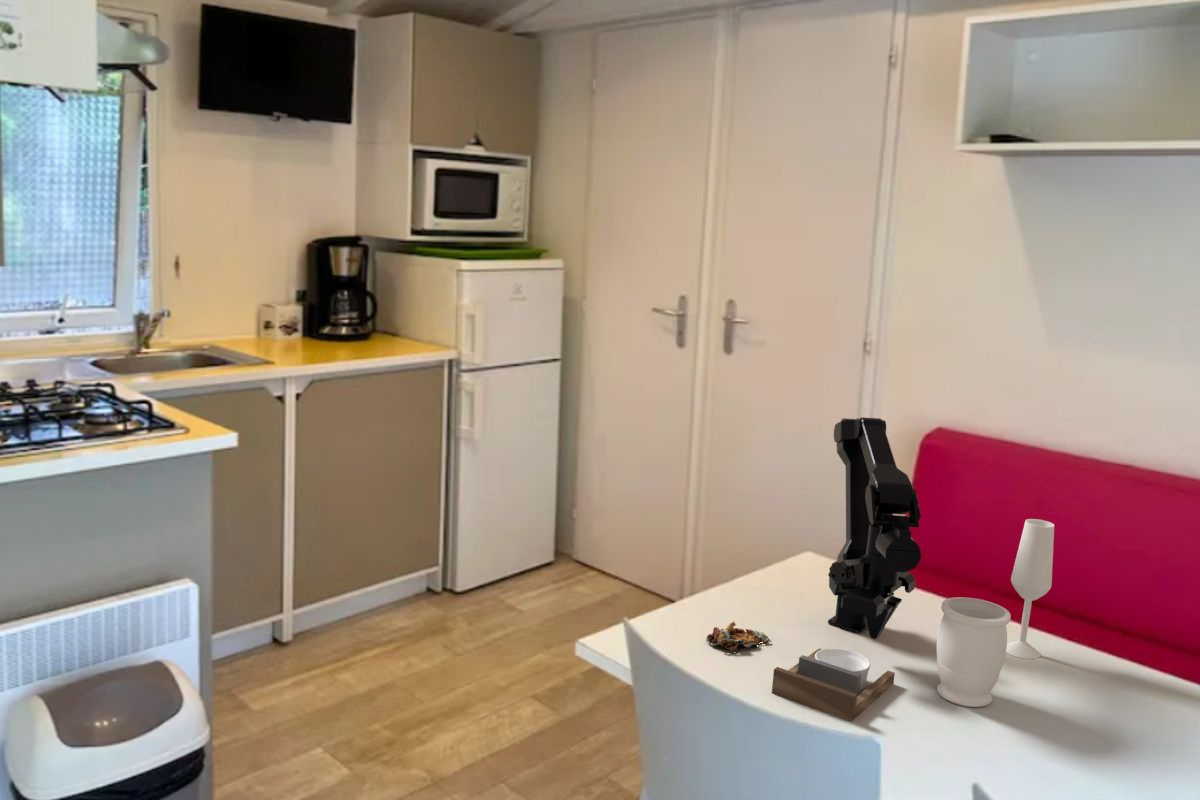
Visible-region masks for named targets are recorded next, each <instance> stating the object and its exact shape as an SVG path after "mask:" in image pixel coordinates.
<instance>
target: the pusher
mask: <svg viewBox="0 0 1200 800" xmlns="http://www.w3.org/2000/svg"><path fill="white" fill-rule="evenodd" d="M798 663H799V665H798V674H800V675H803V676H806V677H809V678H812V679H814V680H817V681H820V682H823V683H826V684H829V685H832V686H835V687H838V688H841V689H844V690H847V691H850V692H852V693H855V694H857V696H858V695H859V694H860V692H859V689H860V680H861V674H859V673H856V672H853V671H850V670H847V669H843V668H840V667H837V666H834V665H831V664H828V663H825V662H822V661H819V660H816V659H813V658H810V657H808V655H804V654H802V655H800V656H799V659H798Z"/></svg>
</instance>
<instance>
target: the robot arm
mask: <svg viewBox="0 0 1200 800" xmlns="http://www.w3.org/2000/svg"><path fill="white" fill-rule="evenodd" d="M833 440H834V441H833V442H834V443H836V453H837V455H838V457H839V458H840V460H841V461H842V463H843V464H844V466H845V544H844V545H843V546H842V548H841V549H840V551H839V553H838V554H837V558H836V559H837V560H836V561H834V562H832V563H831V565H830V567H829V572H828V577H829V578H828V587H829V589H830V591H831V593H832V594H833V596H837V597H836V598H837V599H836V607H835V615H833V616H832V617H831V618H829V619H828V620H827V624H829V625H833V626H836V627H839V628H842V629H845V630H848V631H851V632H855V633H862V632H864V631H865V630H866V629H868V635H869V638H870V639H873V640H877V639H878V638H879V636H880V635H881V633H882V631H883V630H884V628H885V627H886V625H887V624H888V622H889V621H890V619H891V618H892V615H894V613H895V611H896V609H897V608H898V606H899V605H900V604H901V603H902V600H903V599H902V598H900V597H897V596H895V592H896V591H897V590H898V589H900V588H901V587H904V590H905V593H907V594H910V593H912V592H913V591H914V590H915V586H916V578H915V577H914V575H913V574H912V573H911V572H910V571H912V570H914V569H915V568H916V567H917V566H918V565H919V563H920V561H921V558H922V552H921V548H920V545H919V544H918V543H917V542H916V541H915V540H914V538H913V537H912V530H910V528H919V526H920V522H919V521H920V519H921V518H922V516H921V510H920V504H919V498H918V495H917V492H916V488H915V487H913V484H912V482H911V481H910V478H909V475H908V474H906V473H905V472H904V471H902V470H901V469H900V468H898V466H897V464H896V461H895V458H894V453H893V451H892V449H891V445H890V442H889V439H888V435H887V422H886V420H884V419H882V418H879V417H877V418H876V417H866V416H865V417H860V418H841V420H840V421H839V422H837V423H836V424H835V425H834V429H833ZM907 514H908V515H907Z"/></svg>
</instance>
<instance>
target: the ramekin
mask: <svg viewBox="0 0 1200 800" xmlns="http://www.w3.org/2000/svg"><path fill="white" fill-rule="evenodd" d="M821 649H822V650H819V651H818V652H816V654H815V659H816V660H819V661H822V662H825V663H828V664H831V665H834V666H837V667H840V668H843V669H847V670H850V671H853V672H856V673H859V674H861V680H860V689H859V693H860V692H861V691H864V690H865V687H866V685H867V683H866V682H867V680H868V674H869V670H870V669H871V661H870V660H869V658H867V657H866V656H865V655H863V654H861V653H859V652H856V651H853V650H849V649H845V648H837V647H829V648H821Z"/></svg>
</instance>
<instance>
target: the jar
mask: <svg viewBox="0 0 1200 800" xmlns="http://www.w3.org/2000/svg"><path fill="white" fill-rule="evenodd" d="M941 612H942V613H943V615H942V618H941V619H940V623H939V627H938V631H937V636H936V667H937V673H938V676H939V679H940V683H939V684H938V685H937V688H936V689H937V693H938V694H939V695H940V696H941V698H943V699H944V700H946V701H949V702H950V703H953V704H955V705H959V706H962V707H967V708H968V707H970V708H980V707H986V706H988V705H990V704H991V703H992V701H993V695H992V693H991V691H992V690H993V688H994V687H995V686H996V683H997V682H998V679H999V678H1000V674H1001V671H1002V667H1003V664H1004V662H1005V657H1006V654H1007V653H1006V648H1007V643H1008V630H1007V625H1008V624H1009V623H1010V622H1011V618H1012V617H1011V613H1010V611H1009V610H1008V609H1006V608H1005V607H1003V606H1002V605H999V604H997V603H995V602H994V603H993V602H991V601H987V600H984V599H981V598H972V597H965V596H964V597H960V596H959V597H949V598H946V599H944V600H943V601H942V602H941Z"/></svg>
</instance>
